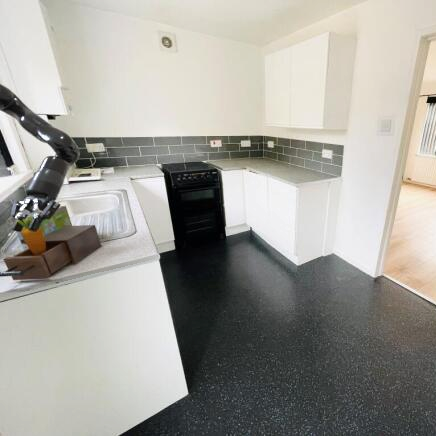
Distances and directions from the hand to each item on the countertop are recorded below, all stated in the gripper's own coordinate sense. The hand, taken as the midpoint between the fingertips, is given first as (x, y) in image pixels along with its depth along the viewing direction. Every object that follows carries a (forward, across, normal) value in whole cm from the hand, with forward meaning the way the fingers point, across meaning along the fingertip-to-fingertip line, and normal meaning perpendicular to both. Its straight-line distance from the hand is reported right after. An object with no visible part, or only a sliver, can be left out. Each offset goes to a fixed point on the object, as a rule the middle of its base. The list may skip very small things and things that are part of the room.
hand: (24, 230), depth 77 cm
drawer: (+11, 0, -11) cm, 15 cm away
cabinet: (+2, +1, -21) cm, 21 cm away
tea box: (-6, +20, -29) cm, 36 cm away
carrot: (+7, 0, -9) cm, 11 cm away
